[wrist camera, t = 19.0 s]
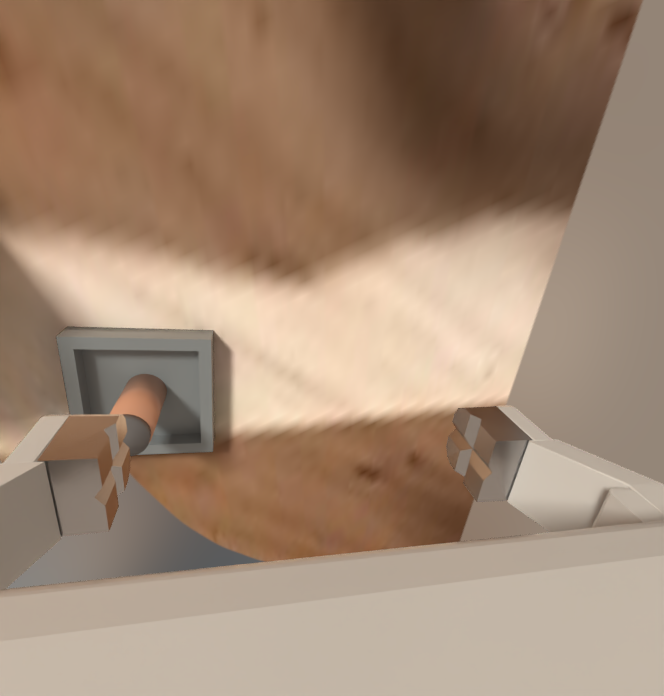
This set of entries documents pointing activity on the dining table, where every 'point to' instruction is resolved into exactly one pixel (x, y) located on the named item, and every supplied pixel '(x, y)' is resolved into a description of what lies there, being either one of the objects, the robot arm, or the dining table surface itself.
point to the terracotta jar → (140, 409)
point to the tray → (144, 358)
